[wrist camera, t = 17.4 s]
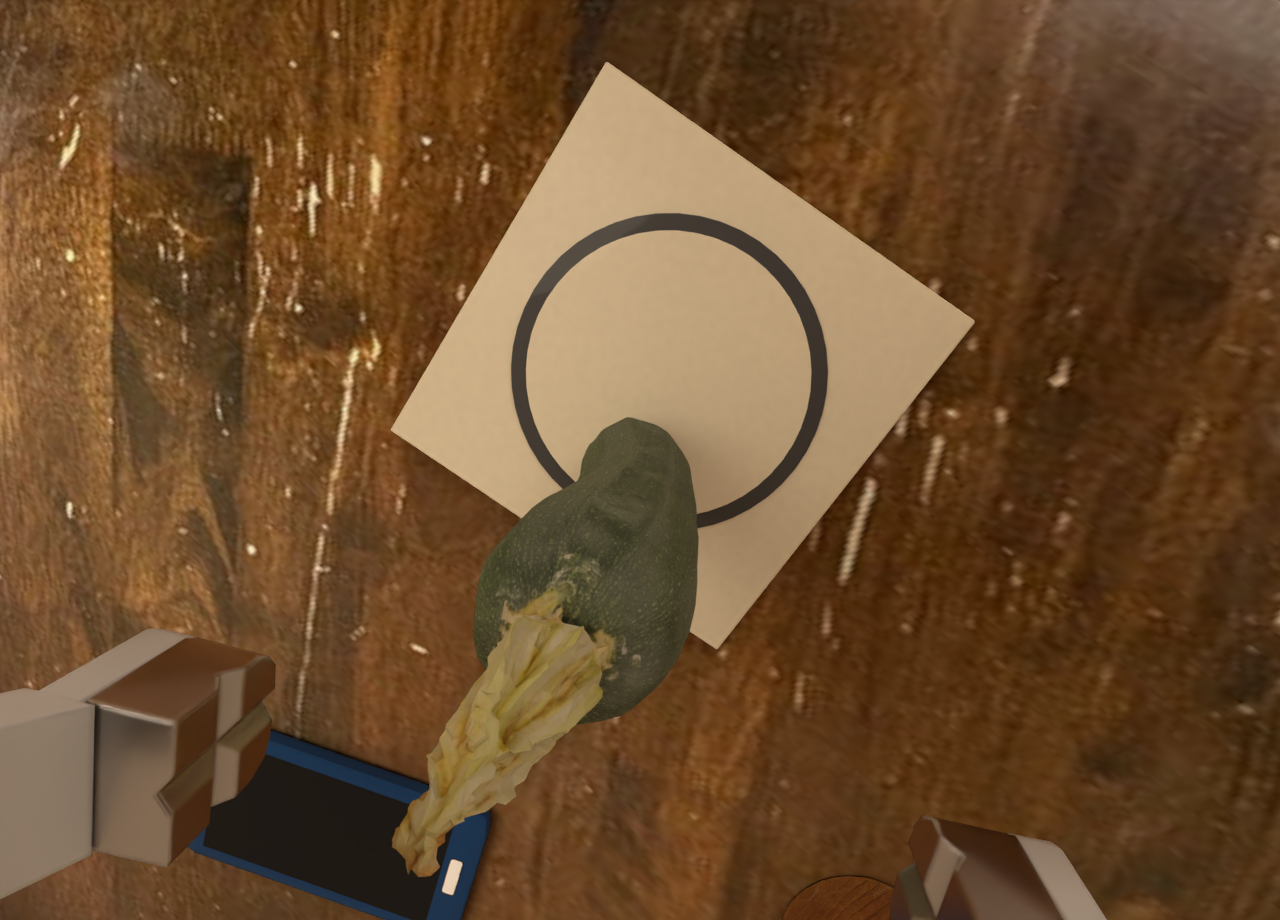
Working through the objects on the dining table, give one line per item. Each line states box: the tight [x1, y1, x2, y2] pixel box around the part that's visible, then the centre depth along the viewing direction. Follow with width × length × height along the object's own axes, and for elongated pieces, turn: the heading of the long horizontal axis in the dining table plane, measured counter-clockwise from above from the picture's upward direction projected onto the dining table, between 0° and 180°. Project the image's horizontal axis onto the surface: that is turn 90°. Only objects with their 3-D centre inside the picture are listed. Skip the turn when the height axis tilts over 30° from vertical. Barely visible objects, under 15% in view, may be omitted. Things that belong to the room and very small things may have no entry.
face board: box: [391, 62, 975, 649], centre depth 27 cm, size 16×16×1 cm
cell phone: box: [188, 730, 491, 920], centre depth 33 cm, size 7×14×1 cm, turn 73°
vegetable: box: [392, 417, 699, 877], centre depth 18 cm, size 4×4×20 cm
